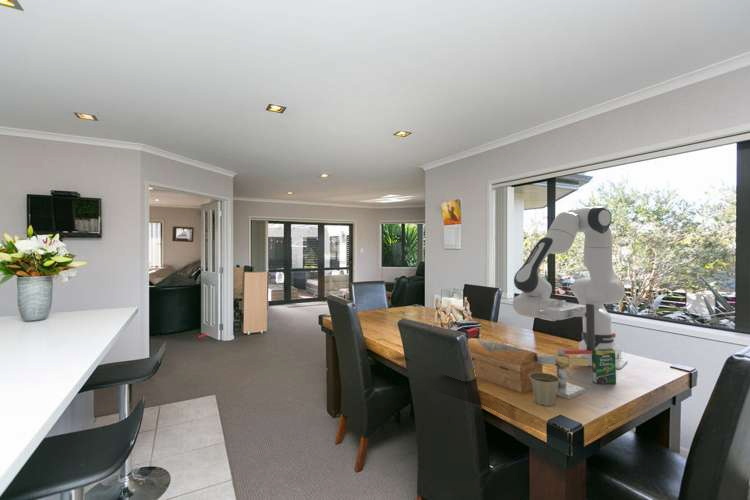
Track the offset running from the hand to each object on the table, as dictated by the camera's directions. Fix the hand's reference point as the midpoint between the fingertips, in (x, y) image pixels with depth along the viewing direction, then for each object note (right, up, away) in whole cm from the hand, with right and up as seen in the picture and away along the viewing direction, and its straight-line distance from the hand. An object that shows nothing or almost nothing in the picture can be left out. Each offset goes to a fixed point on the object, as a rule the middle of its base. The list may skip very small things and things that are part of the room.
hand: (586, 314), depth 131 cm
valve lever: (-5, -14, -1) cm, 15 cm away
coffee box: (+10, -28, +6) cm, 30 cm away
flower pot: (-21, -28, -11) cm, 37 cm away
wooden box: (-28, -29, +13) cm, 42 cm away
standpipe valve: (-10, -28, -1) cm, 30 cm away
